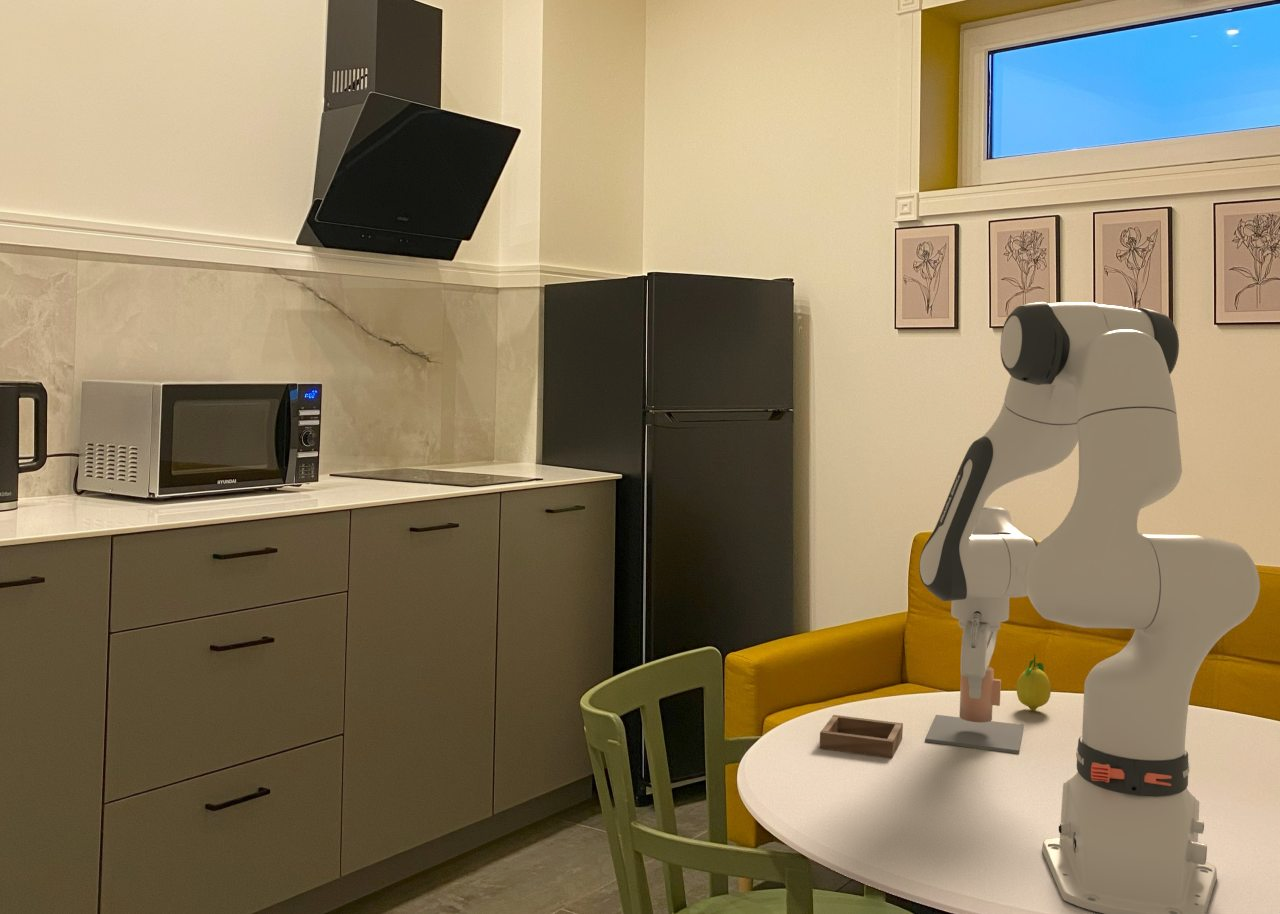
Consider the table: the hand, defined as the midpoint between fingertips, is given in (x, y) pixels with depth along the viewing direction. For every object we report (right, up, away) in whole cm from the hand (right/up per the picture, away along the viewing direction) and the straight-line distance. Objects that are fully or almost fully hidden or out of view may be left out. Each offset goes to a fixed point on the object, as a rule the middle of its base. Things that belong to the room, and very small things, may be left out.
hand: (976, 692), depth 182 cm
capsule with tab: (0, -4, 0) cm, 4 cm away
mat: (0, -7, 0) cm, 7 cm away
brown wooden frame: (-19, -7, -5) cm, 21 cm away
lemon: (+14, -6, +14) cm, 21 cm away
